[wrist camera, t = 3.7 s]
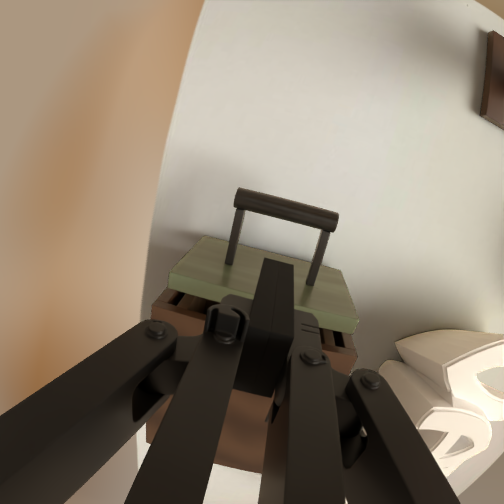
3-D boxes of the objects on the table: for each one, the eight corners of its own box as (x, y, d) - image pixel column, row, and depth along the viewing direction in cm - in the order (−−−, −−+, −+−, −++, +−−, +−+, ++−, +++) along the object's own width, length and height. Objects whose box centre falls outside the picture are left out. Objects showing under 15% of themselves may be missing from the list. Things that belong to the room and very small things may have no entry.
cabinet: (196, 253, 30) (151, 304, 20) (338, 289, 29) (357, 356, 19) (177, 376, 35) (145, 442, 25) (291, 405, 34) (287, 478, 24)
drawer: (216, 173, 26) (182, 184, 18) (360, 210, 26) (390, 238, 17) (183, 361, 33) (155, 418, 24) (294, 389, 32) (292, 452, 24)
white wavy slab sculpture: (437, 268, 27) (490, 320, 17) (525, 314, 27) (571, 359, 17) (291, 471, 39) (287, 529, 29) (380, 484, 39) (387, 534, 29)
